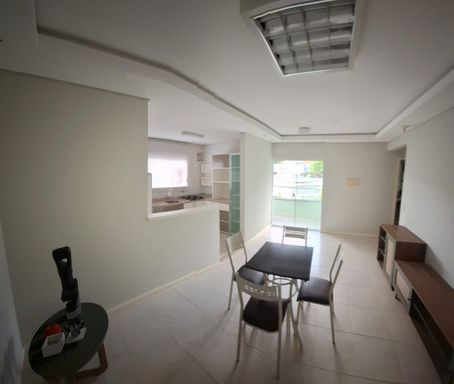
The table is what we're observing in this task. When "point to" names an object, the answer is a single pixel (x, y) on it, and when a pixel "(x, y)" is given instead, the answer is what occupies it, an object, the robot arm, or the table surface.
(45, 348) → the storage box
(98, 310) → the table surface
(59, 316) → the table surface
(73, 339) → the lid
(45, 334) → the apple
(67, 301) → the robot arm
